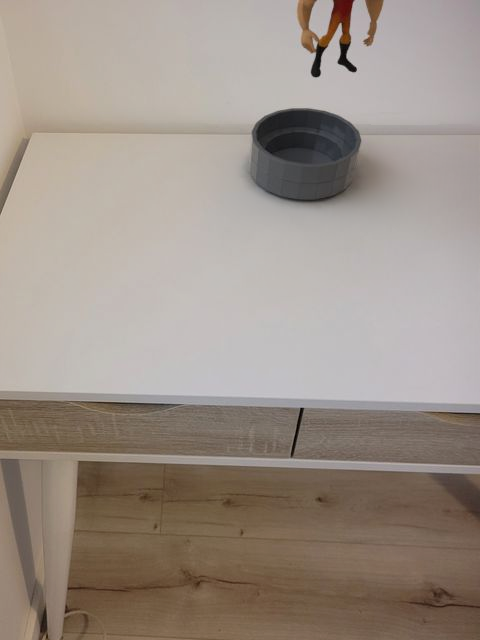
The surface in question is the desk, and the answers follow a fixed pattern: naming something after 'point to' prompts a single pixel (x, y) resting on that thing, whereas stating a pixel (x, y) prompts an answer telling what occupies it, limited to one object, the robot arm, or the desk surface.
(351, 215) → the desk surface
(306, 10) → the action figure
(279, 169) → the bowl
